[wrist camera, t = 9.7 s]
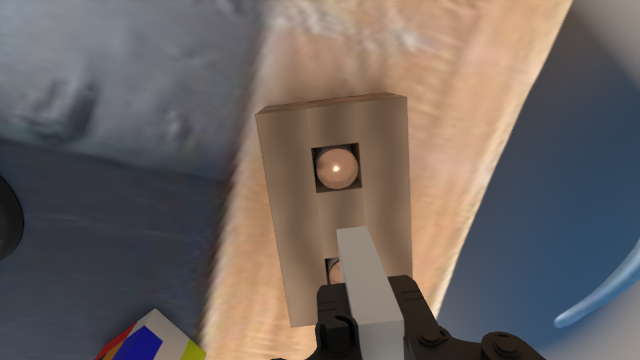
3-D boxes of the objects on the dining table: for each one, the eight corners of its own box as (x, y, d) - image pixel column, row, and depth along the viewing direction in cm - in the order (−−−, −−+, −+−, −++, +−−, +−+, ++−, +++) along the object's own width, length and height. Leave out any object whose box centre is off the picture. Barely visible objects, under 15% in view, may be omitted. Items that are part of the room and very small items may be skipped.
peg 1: (317, 170, 40) (319, 191, 33) (313, 137, 39) (314, 151, 32) (350, 166, 40) (359, 186, 33) (347, 133, 39) (356, 146, 32)
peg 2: (327, 258, 44) (331, 294, 36) (324, 230, 42) (327, 262, 35) (358, 254, 44) (367, 290, 36) (355, 227, 42) (365, 258, 35)
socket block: (293, 285, 46) (290, 327, 38) (265, 106, 38) (255, 114, 31) (396, 273, 46) (413, 313, 38) (387, 92, 38) (406, 96, 31)
